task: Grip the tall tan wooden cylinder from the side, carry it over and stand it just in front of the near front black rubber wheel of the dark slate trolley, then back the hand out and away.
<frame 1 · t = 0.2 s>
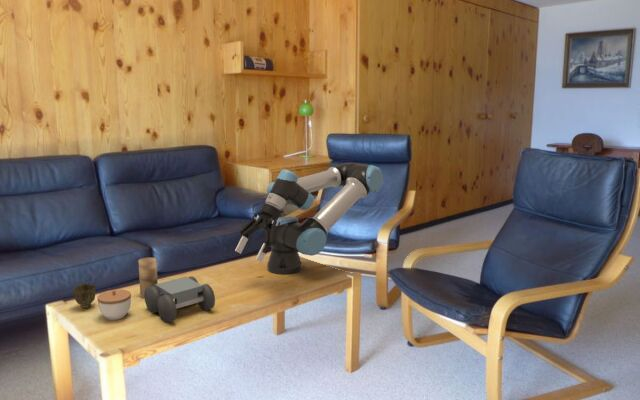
hand: (247, 256, 200), 15 cm above the table, tool tilted 35°, fingers open, 13 cm apart
trolley: (180, 310, 187), on the table
dark brown textured bowl: (86, 308, 188), on the table
lidded jar: (115, 316, 182), on the table
tan wooden cylinder: (149, 295, 200), on the table
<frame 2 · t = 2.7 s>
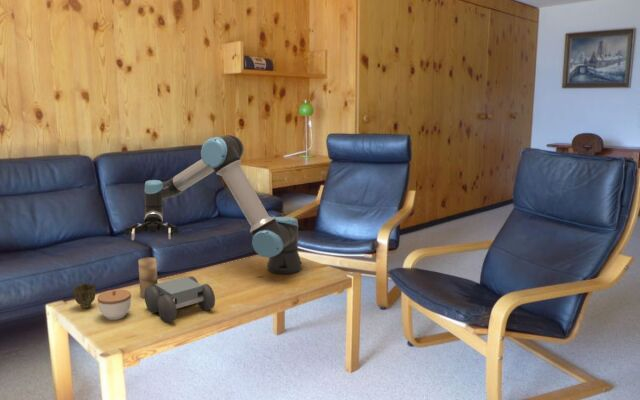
hand: (151, 236, 204), 21 cm above the table, tool horizontal, fingers open, 13 cm apart
nothing on the table moved.
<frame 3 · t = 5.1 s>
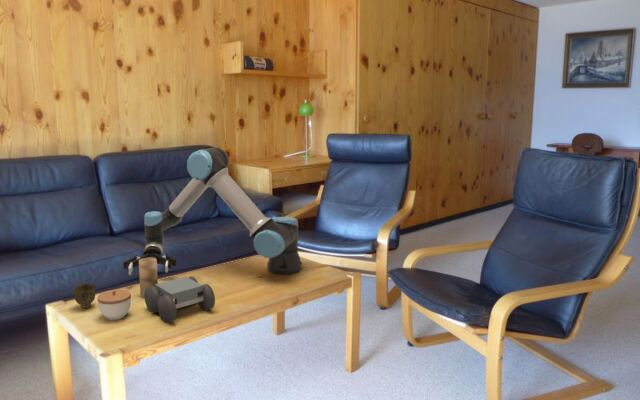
hand: (148, 270, 204), 8 cm above the table, tool horizontal, fingers open, 13 cm apart
nothing on the table moved.
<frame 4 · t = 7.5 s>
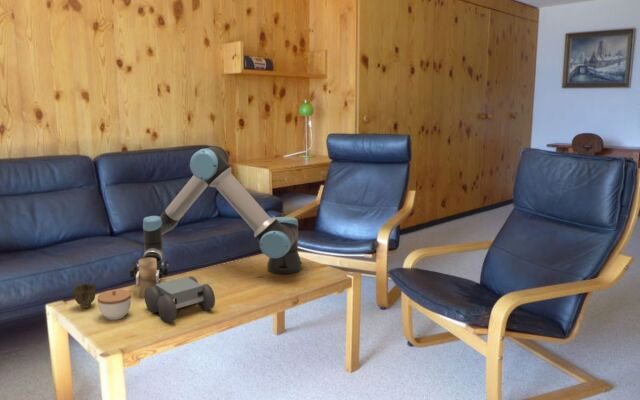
hand: (147, 279, 194), 8 cm above the table, tool horizontal, fingers closed on tan wooden cylinder, 6 cm apart
tan wooden cylinder: (149, 295, 200), on the table, touching gripper
everything else where it was.
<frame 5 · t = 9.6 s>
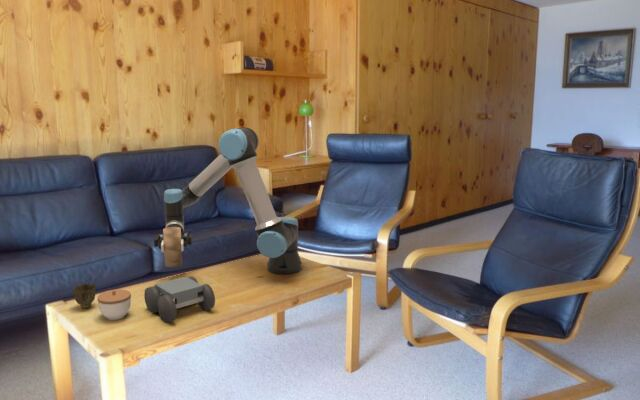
hand: (172, 248, 193), 20 cm above the table, tool horizontal, fingers closed on tan wooden cylinder, 6 cm apart
tan wooden cylinder: (173, 264, 200), point 12 cm above the table, touching gripper
everything else where it was.
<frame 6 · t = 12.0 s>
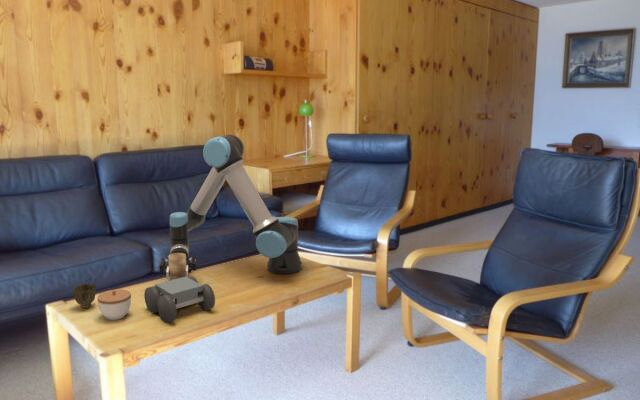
hand: (177, 274, 196), 9 cm above the table, tool horizontal, fingers closed on tan wooden cylinder, 6 cm apart
tan wooden cylinder: (178, 290, 202), point 1 cm above the table, touching gripper
everything else where it was.
when the fingers open (9 cm above the table, at t = 12.2 s): tan wooden cylinder drops 1 cm, on the table.
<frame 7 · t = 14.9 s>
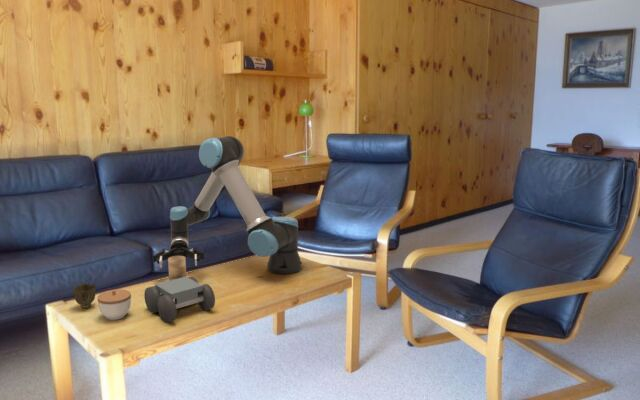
hand: (178, 263, 208), 9 cm above the table, tool horizontal, fingers open, 13 cm apart
tan wooden cylinder: (178, 293, 203), on the table
everything else where it was.
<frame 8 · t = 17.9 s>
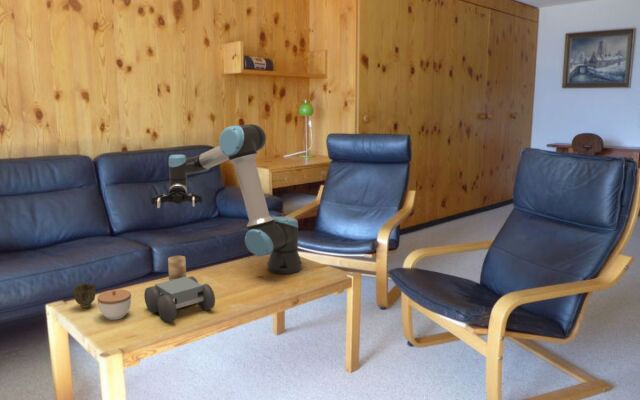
hand: (176, 204, 210), 32 cm above the table, tool horizontal, fingers open, 13 cm apart
nothing on the table moved.
at the end: tan wooden cylinder inside the target area (0.7 cm from its centre), on the table; tan wooden cylinder tilted 1°; the gripper is holding nothing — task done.
